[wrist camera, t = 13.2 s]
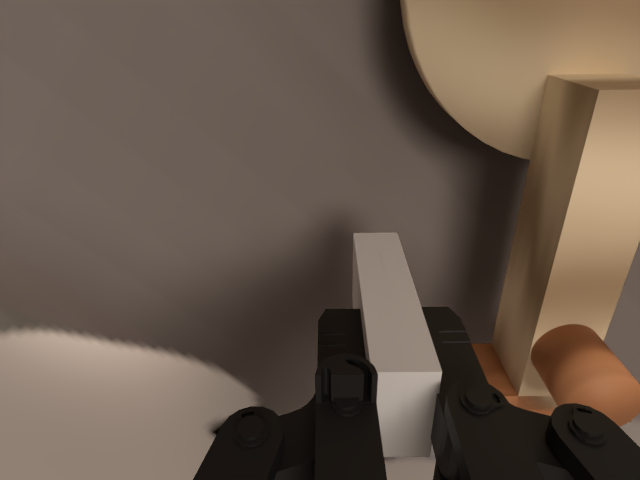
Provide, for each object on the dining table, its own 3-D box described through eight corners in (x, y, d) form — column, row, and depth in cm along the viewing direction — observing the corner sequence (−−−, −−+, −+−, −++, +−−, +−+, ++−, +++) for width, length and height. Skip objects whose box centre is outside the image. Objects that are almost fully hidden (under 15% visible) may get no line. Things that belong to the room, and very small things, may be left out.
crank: (415, -296, 12) (524, -643, 5) (881, -309, 11) (1543, -678, 5) (378, 347, 22) (401, 483, 16) (625, 344, 22) (747, 480, 15)
